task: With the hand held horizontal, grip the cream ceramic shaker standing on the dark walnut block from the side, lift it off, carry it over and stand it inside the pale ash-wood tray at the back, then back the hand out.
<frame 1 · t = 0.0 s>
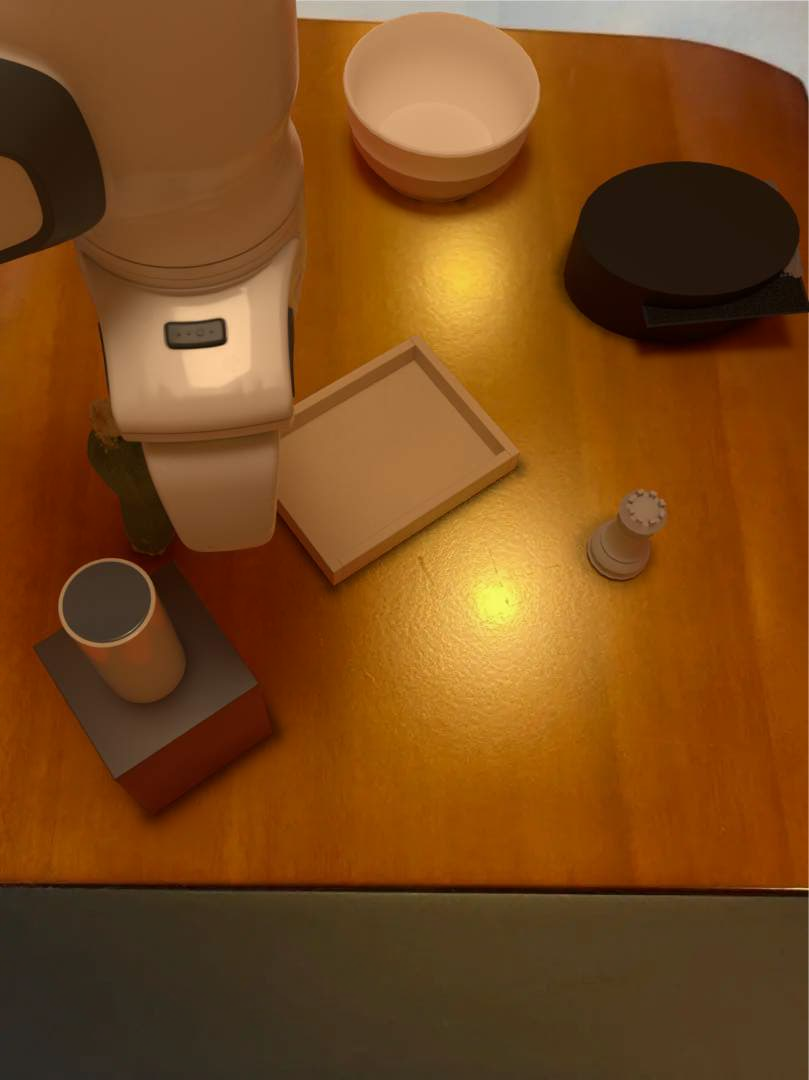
hand: (228, 413, 51), 21 cm above the table, tool pointing down, fingers open, 8 cm apart
tray: (376, 462, 74), on the table
vegetable: (164, 544, 71), on the table
rook chess piece: (615, 554, 73), on the table
shaker: (145, 664, 55), point 12 cm above the table, touching pedestal
black flat-topped cap: (667, 284, 83), on the table
bowl: (433, 156, 87), on the table
pedestal: (177, 717, 66), on the table
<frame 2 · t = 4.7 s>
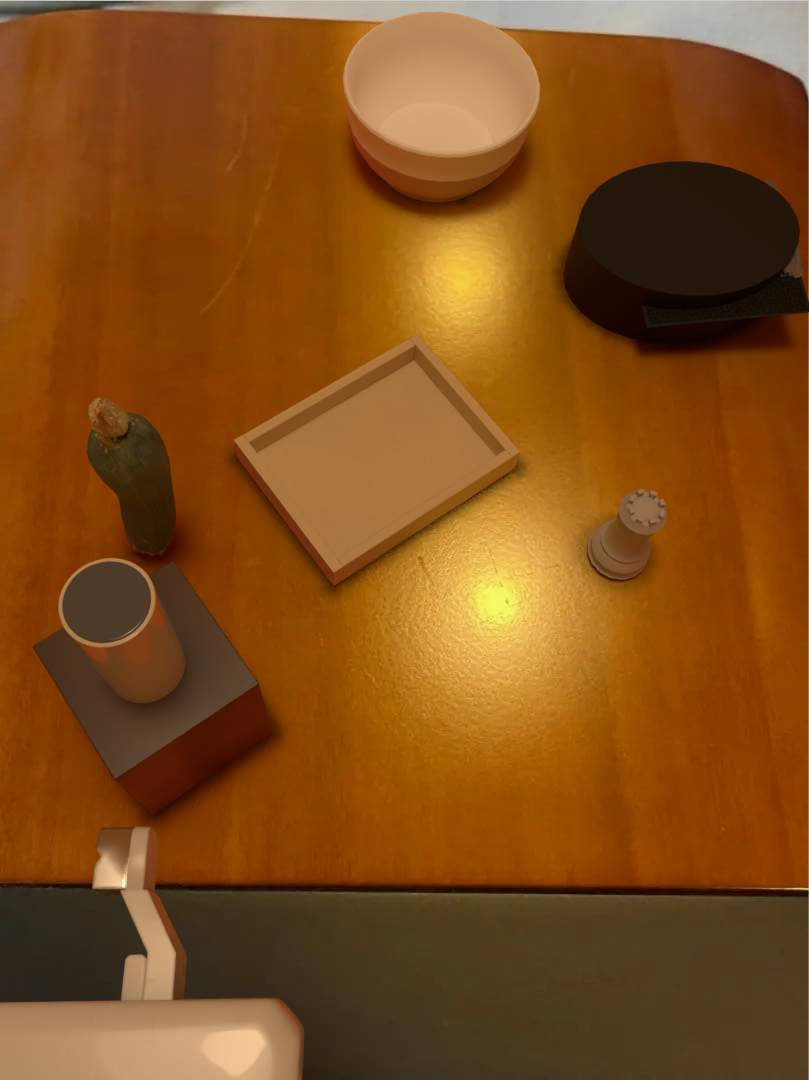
nothing on the table moved.
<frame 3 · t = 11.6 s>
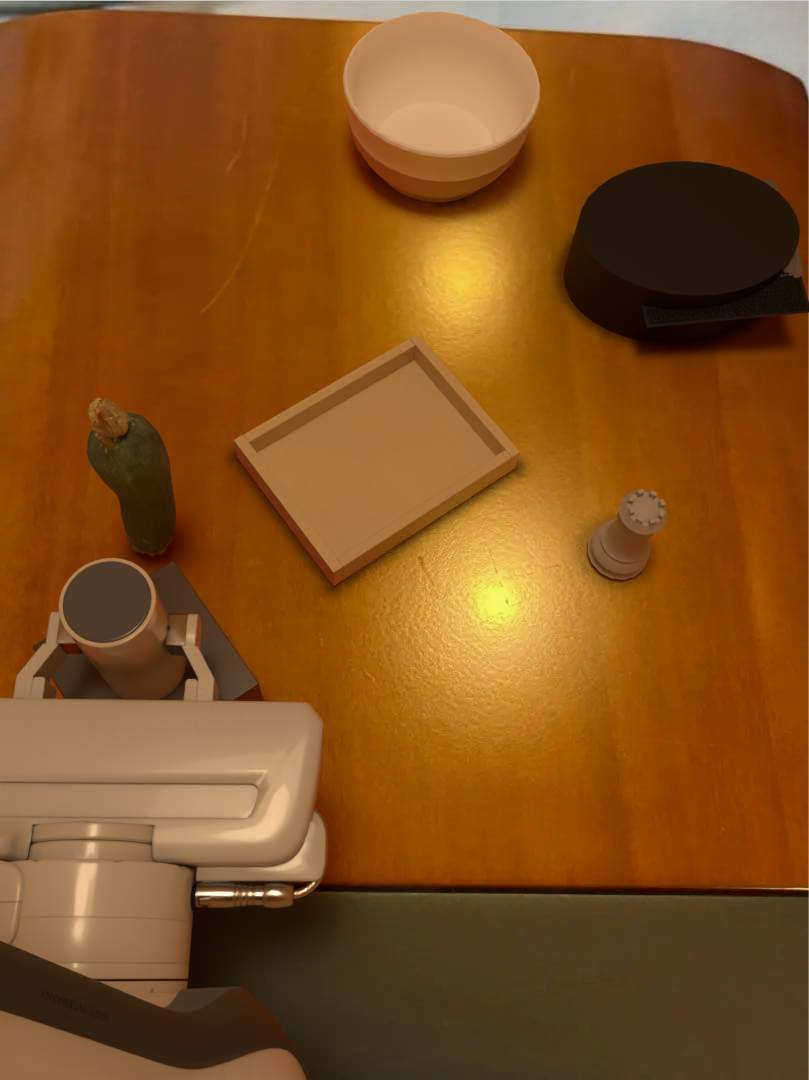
hand: (127, 615, 50), 18 cm above the table, tool horizontal, fingers closed on shaker, 4 cm apart
shaker: (145, 664, 55), point 12 cm above the table, touching gripper, pedestal
everything else where it was.
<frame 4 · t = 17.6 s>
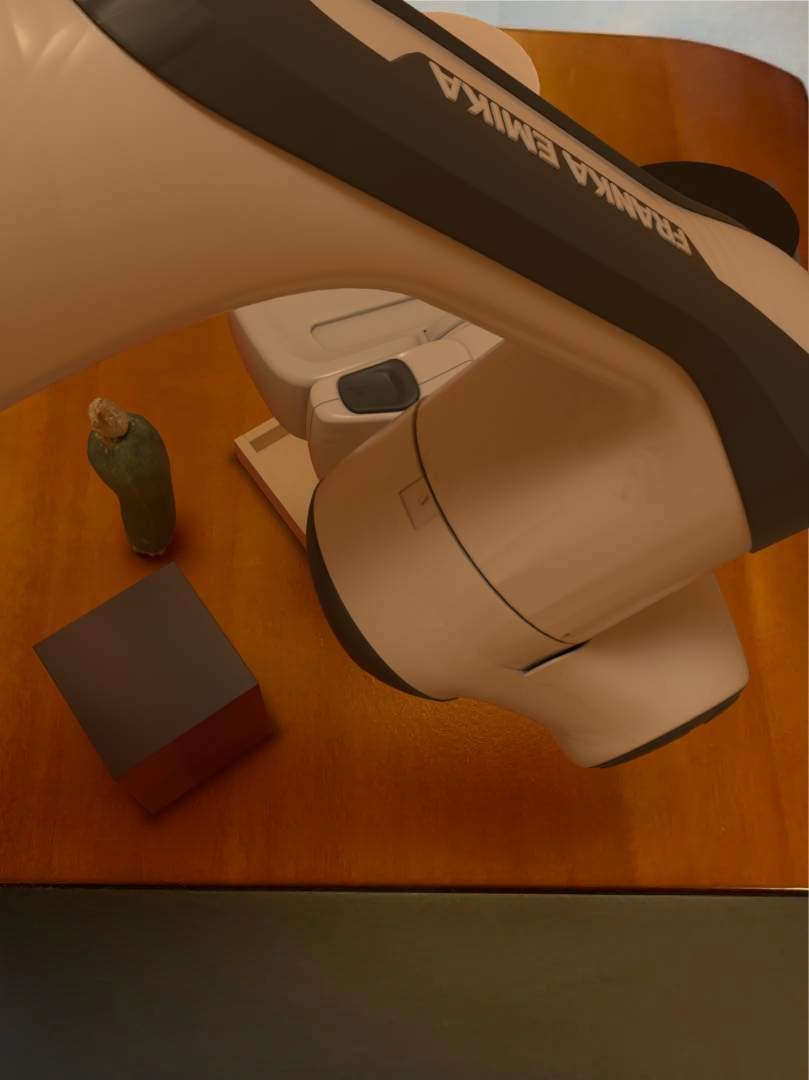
hand: (391, 170, 48), 29 cm above the table, tool horizontal, fingers closed on shaker, 4 cm apart
shaker: (393, 259, 53), point 23 cm above the table, touching gripper
everything else where it was.
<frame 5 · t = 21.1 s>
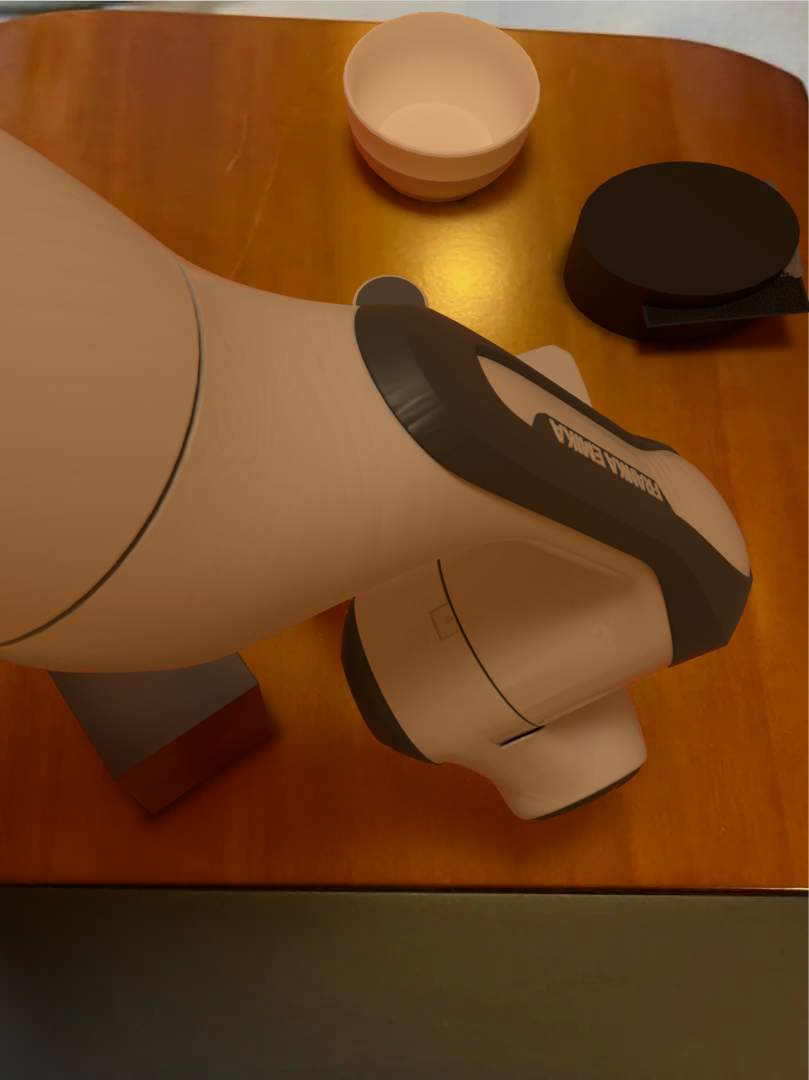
hand: (381, 338, 61), 15 cm above the table, tool horizontal, fingers closed on shaker, 4 cm apart
shaker: (383, 398, 66), point 9 cm above the table, touching gripper
everything else where it was.
when the fingers open (6 cm above the table, at t = 23.8 s): shaker stays where it is, resting on tray.
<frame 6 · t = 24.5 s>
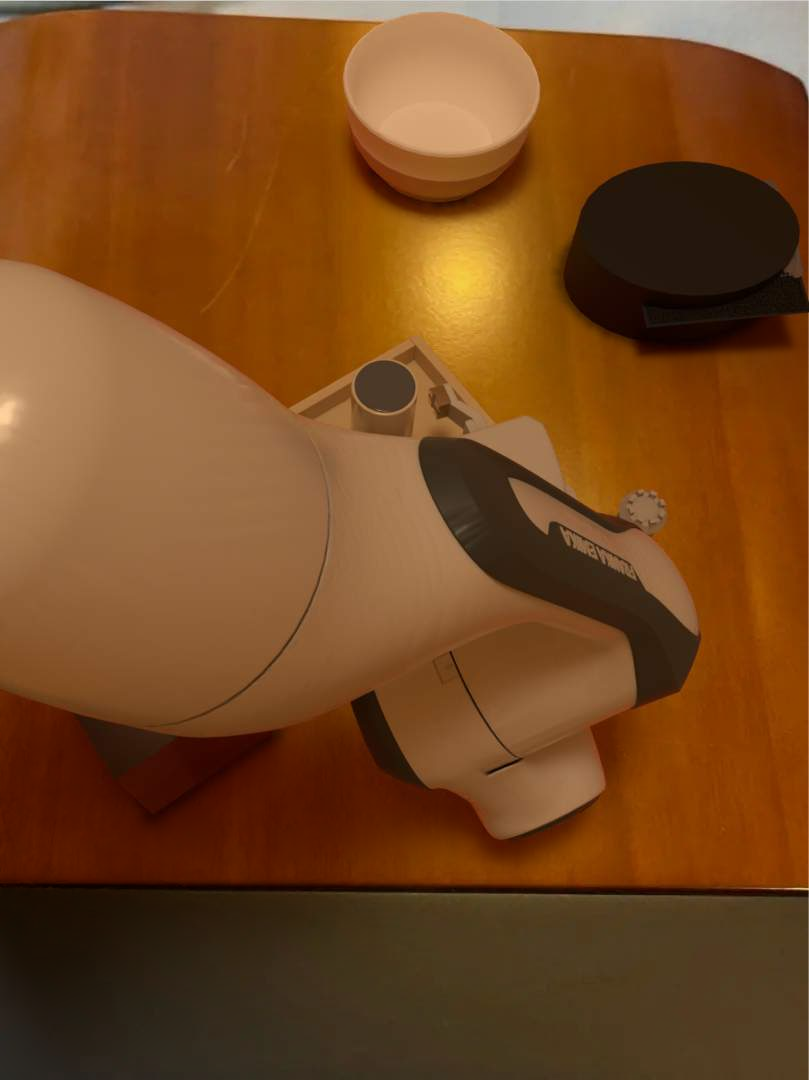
hand: (374, 408, 69), 6 cm above the table, tool horizontal, fingers open, 8 cm apart
shaker: (379, 459, 74), point 1 cm above the table, touching tray
everything else where it was.
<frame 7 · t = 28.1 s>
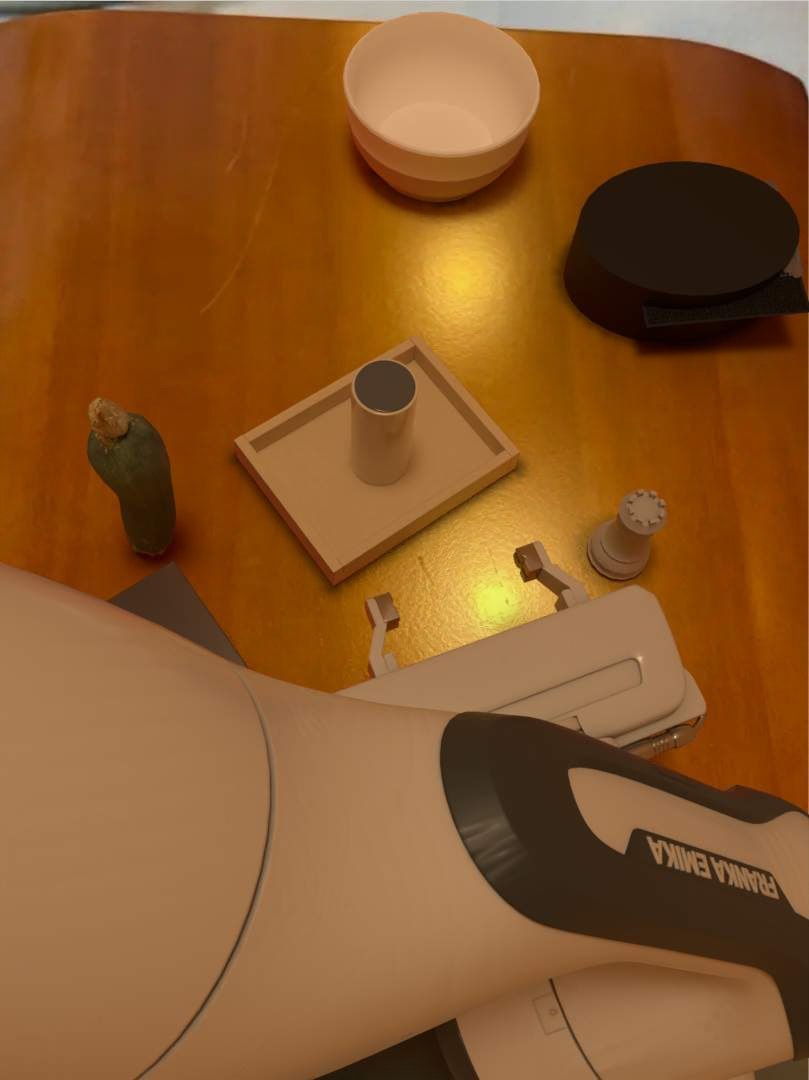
hand: (452, 572, 58), 12 cm above the table, tool horizontal, fingers open, 8 cm apart
nothing on the table moved.
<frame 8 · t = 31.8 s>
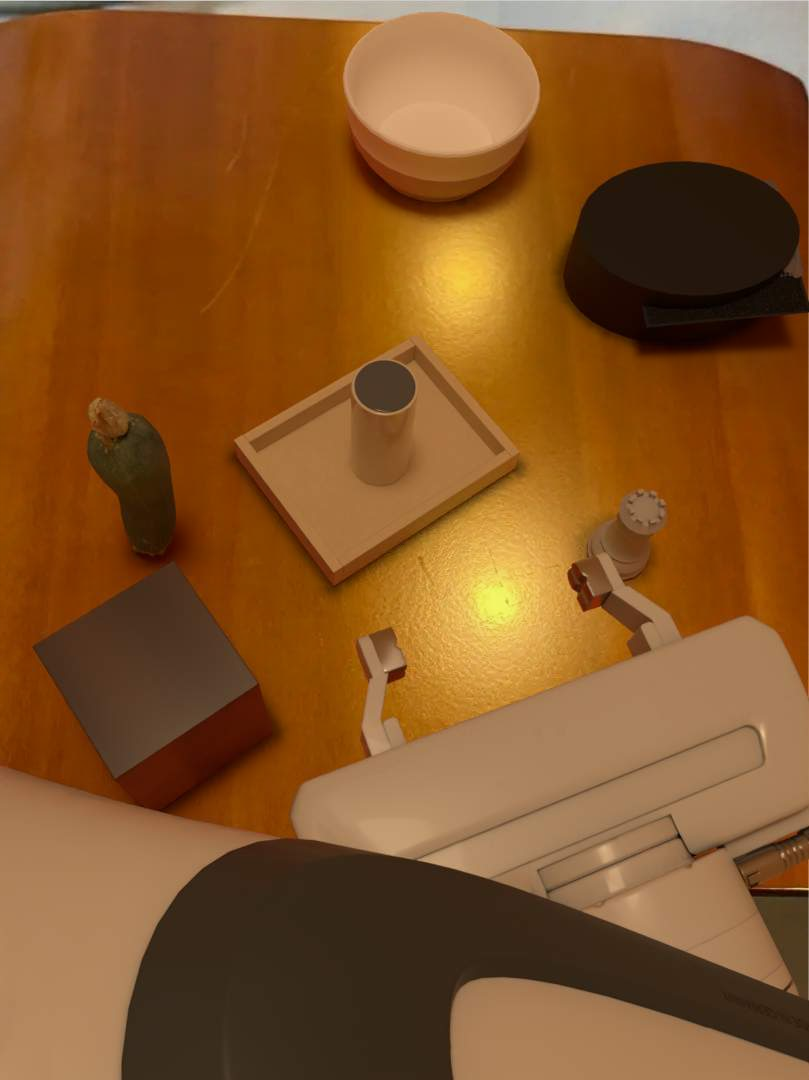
hand: (481, 598, 40), 28 cm above the table, tool horizontal, fingers open, 8 cm apart
nothing on the table moved.
at the end: shaker inside the target area in the tray (0.1 cm from its centre), point 0.6 cm above the tray's base; shaker tilted 0°; the gripper is holding nothing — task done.
